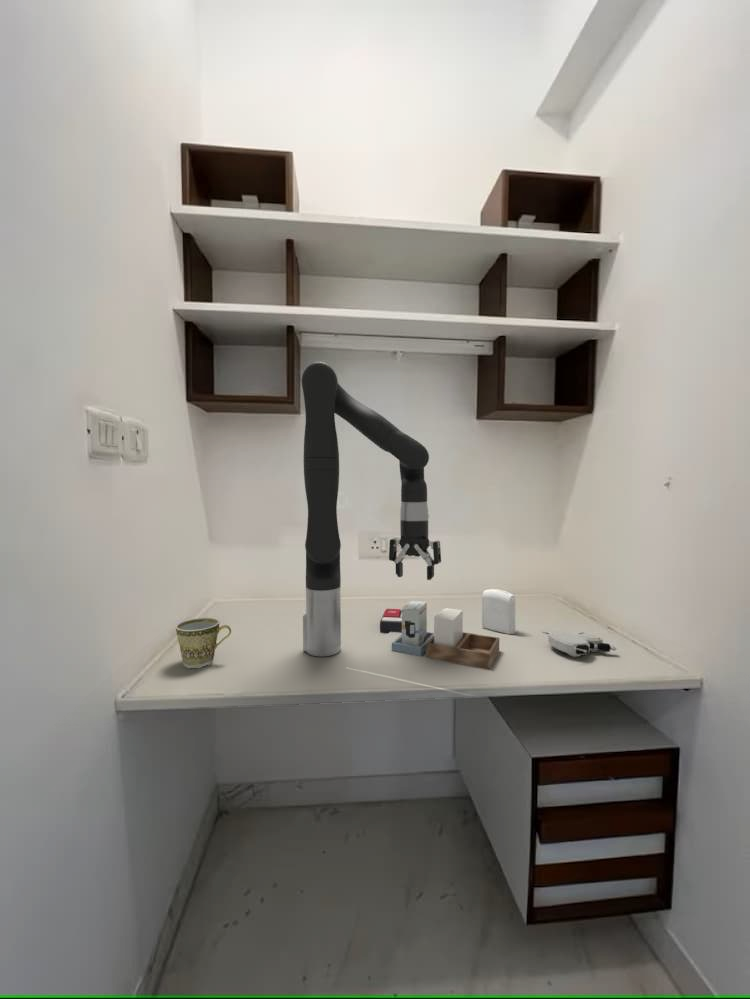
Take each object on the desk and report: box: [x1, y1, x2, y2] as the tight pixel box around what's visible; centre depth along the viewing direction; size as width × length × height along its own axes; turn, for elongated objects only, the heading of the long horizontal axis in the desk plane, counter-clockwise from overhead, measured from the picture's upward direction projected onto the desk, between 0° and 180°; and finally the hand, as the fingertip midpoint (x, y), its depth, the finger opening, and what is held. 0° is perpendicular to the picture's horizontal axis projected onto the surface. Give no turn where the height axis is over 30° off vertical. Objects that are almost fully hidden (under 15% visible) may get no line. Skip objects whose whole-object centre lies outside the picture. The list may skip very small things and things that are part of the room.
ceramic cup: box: [175, 617, 232, 670], centre depth 105 cm, size 13×10×10 cm
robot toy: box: [541, 630, 617, 658], centre depth 113 cm, size 12×4×15 cm
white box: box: [433, 607, 464, 647], centre depth 111 cm, size 5×9×10 cm, turn 153°
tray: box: [391, 631, 434, 657], centre depth 116 cm, size 8×12×2 cm
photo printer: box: [481, 588, 516, 635], centre depth 129 cm, size 10×4×12 cm, turn 44°
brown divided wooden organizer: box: [425, 632, 500, 670], centre depth 110 cm, size 16×12×4 cm
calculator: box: [379, 608, 402, 634], centre depth 134 cm, size 11×4×15 cm
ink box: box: [401, 600, 428, 647], centre depth 116 cm, size 9×5×12 cm, turn 157°
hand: (414, 578), depth 115 cm, fingers open, 8 cm apart
